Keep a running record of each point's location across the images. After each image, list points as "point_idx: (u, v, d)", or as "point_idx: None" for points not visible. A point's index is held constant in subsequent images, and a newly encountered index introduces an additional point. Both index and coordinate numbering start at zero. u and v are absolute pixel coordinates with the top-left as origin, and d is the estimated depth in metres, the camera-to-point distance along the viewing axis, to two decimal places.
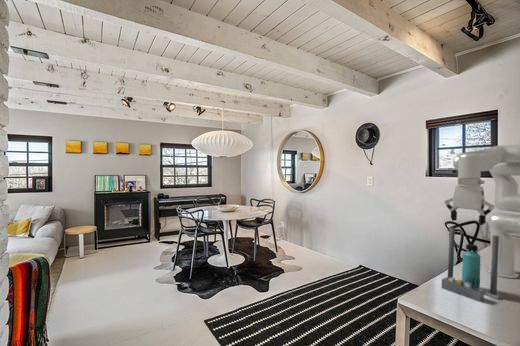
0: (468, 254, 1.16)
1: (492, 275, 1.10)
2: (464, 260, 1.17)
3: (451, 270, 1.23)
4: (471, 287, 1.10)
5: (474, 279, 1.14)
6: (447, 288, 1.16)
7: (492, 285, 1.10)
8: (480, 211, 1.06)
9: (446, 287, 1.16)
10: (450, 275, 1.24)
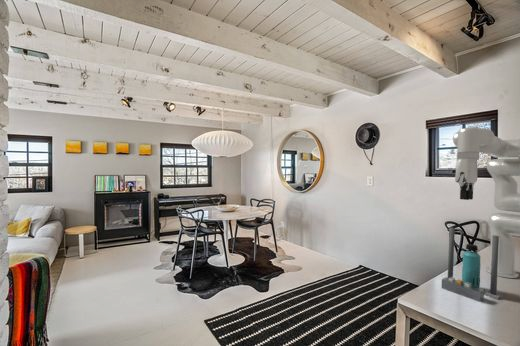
0: (468, 254, 1.16)
1: (492, 275, 1.10)
2: (464, 260, 1.17)
3: (451, 270, 1.23)
4: (471, 287, 1.10)
5: (474, 279, 1.14)
6: (447, 288, 1.16)
7: (492, 285, 1.10)
8: (472, 186, 1.12)
9: (446, 287, 1.16)
10: (450, 275, 1.24)
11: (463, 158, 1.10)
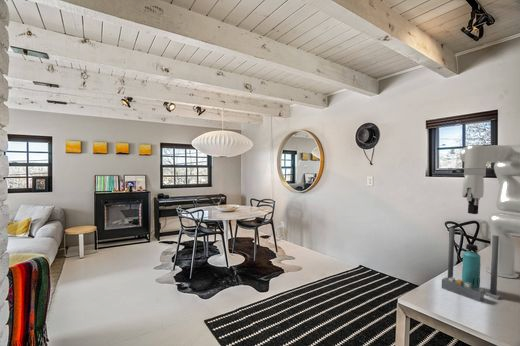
0: (468, 254, 1.16)
1: (492, 275, 1.10)
2: (464, 260, 1.17)
3: (451, 270, 1.23)
4: (471, 287, 1.10)
5: (474, 279, 1.14)
6: (447, 288, 1.16)
7: (492, 285, 1.10)
8: (478, 201, 1.16)
9: (446, 287, 1.16)
10: (450, 275, 1.24)
11: (470, 174, 1.14)
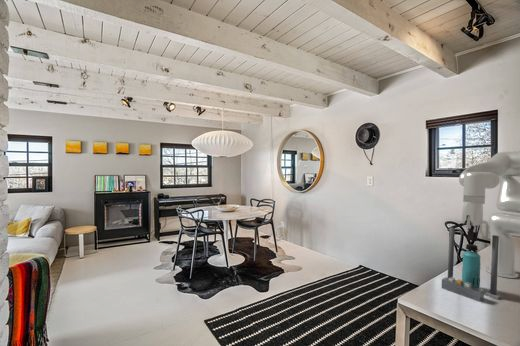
0: (468, 254, 1.16)
1: (492, 275, 1.10)
2: (464, 260, 1.17)
3: (451, 270, 1.23)
4: (471, 287, 1.10)
5: (474, 279, 1.14)
6: (447, 288, 1.16)
7: (492, 285, 1.10)
8: (477, 227, 1.17)
9: (446, 287, 1.16)
10: (450, 275, 1.24)
11: (469, 202, 1.15)
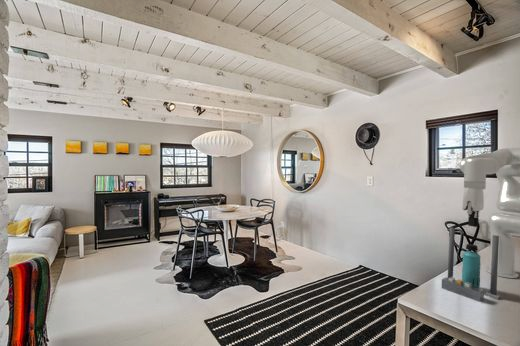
0: (468, 254, 1.16)
1: (492, 275, 1.10)
2: (464, 260, 1.17)
3: (451, 270, 1.23)
4: (471, 287, 1.10)
5: (474, 279, 1.14)
6: (447, 288, 1.16)
7: (492, 285, 1.10)
8: (478, 213, 1.17)
9: (446, 287, 1.16)
10: (450, 275, 1.24)
11: (470, 187, 1.15)
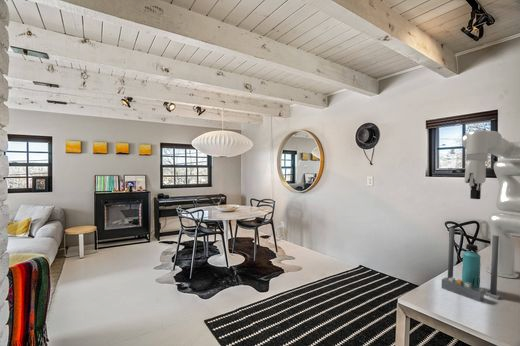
0: (468, 254, 1.16)
1: (492, 275, 1.10)
2: (464, 260, 1.17)
3: (451, 270, 1.23)
4: (471, 287, 1.10)
5: (474, 279, 1.14)
6: (447, 288, 1.16)
7: (492, 285, 1.10)
8: (480, 186, 1.17)
9: (446, 287, 1.16)
10: (450, 275, 1.24)
11: (472, 159, 1.15)
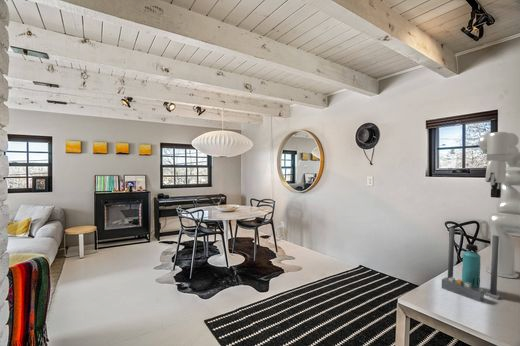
0: (468, 254, 1.16)
1: (492, 275, 1.10)
2: (464, 260, 1.17)
3: (451, 270, 1.23)
4: (471, 287, 1.10)
5: (474, 279, 1.14)
6: (447, 288, 1.16)
7: (492, 285, 1.10)
8: (500, 185, 1.22)
9: (446, 287, 1.16)
10: (450, 275, 1.24)
11: (493, 160, 1.20)
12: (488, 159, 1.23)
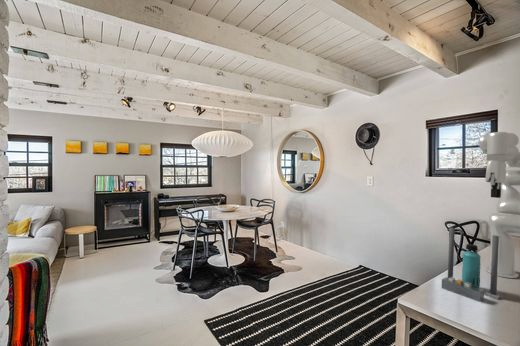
0: (468, 254, 1.16)
1: (492, 275, 1.10)
2: (464, 260, 1.17)
3: (451, 270, 1.23)
4: (471, 287, 1.10)
5: (474, 279, 1.14)
6: (447, 288, 1.16)
7: (492, 285, 1.10)
8: (501, 185, 1.22)
9: (446, 287, 1.16)
10: (450, 275, 1.24)
11: (493, 160, 1.20)
12: (488, 159, 1.23)
